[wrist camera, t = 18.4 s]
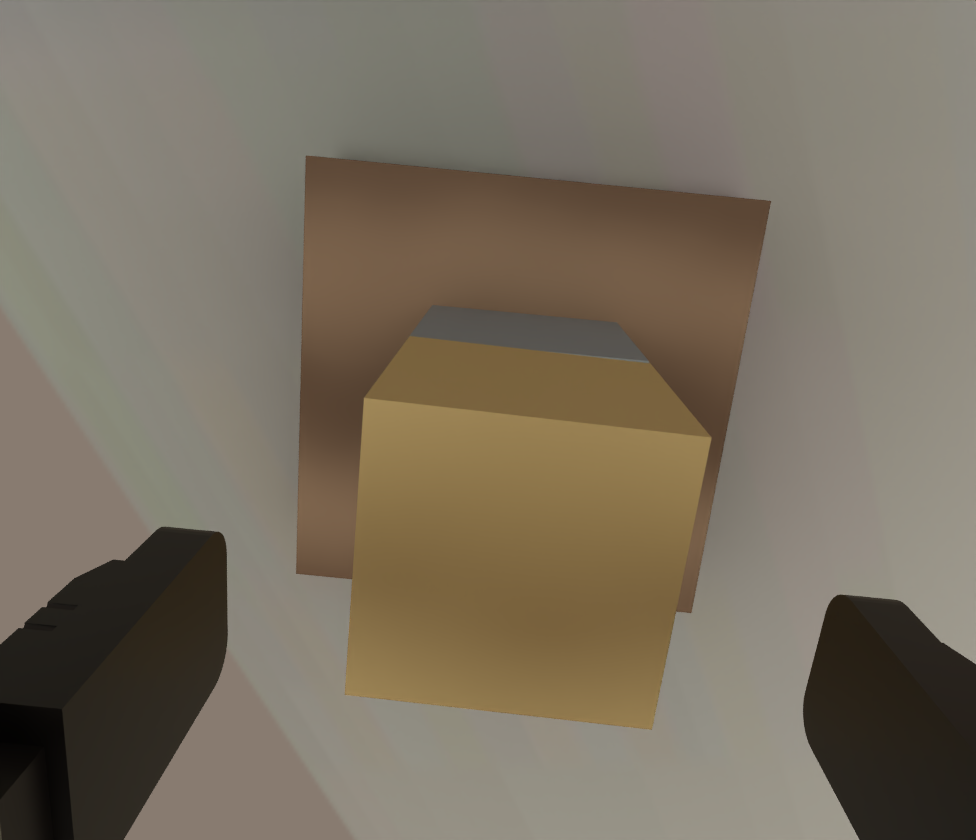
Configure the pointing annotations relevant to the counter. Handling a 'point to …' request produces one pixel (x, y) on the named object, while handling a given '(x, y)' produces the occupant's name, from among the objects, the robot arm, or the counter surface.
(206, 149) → the counter surface
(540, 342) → the slate block
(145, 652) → the robot arm
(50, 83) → the counter surface
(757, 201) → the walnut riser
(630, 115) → the counter surface
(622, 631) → the ochre block
